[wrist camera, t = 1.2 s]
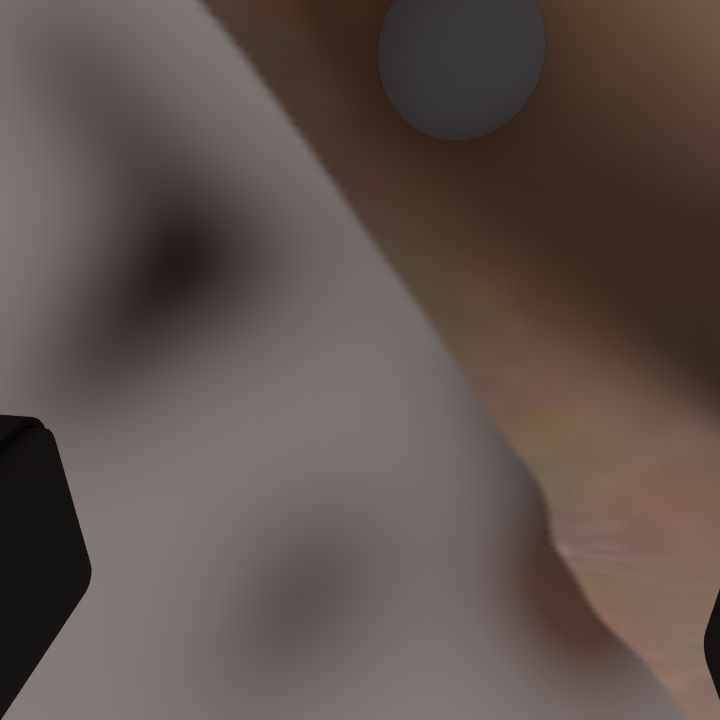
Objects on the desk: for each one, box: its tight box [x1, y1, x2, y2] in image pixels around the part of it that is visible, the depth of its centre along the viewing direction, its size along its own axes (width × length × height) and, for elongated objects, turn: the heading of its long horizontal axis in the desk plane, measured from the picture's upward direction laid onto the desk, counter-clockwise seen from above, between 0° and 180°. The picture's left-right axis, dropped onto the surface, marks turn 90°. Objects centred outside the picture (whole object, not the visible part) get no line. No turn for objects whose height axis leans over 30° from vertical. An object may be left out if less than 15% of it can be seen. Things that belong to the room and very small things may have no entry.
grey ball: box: [378, 0, 546, 141], centre depth 22 cm, size 6×6×6 cm
